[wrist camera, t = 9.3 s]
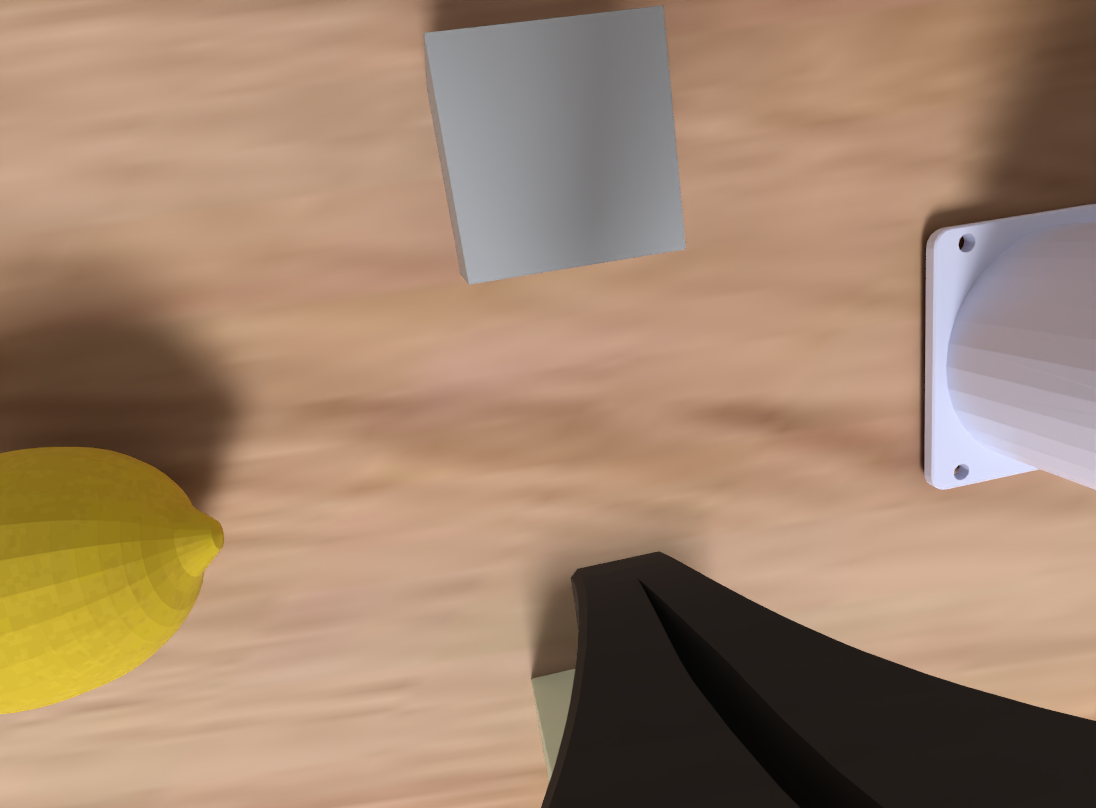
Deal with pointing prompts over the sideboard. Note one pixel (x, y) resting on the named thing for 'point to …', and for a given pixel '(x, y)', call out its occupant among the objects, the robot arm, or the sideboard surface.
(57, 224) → the sideboard surface
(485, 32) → the slate block
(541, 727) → the sage block
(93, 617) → the lemon
